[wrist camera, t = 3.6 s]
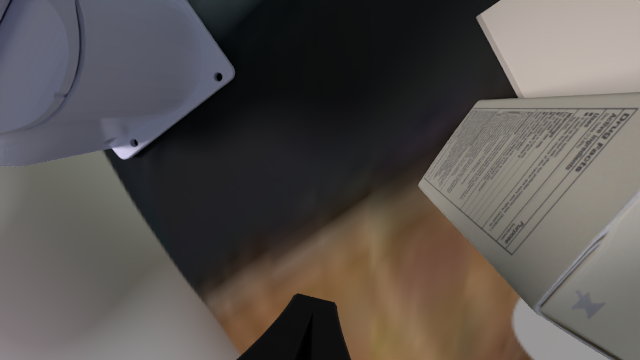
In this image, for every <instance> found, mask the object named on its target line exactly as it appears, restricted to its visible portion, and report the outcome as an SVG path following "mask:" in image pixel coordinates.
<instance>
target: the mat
mask: <svg viewBox="0 0 640 360" xmlns="http://www.w3.org/2000/svg"><path fill="white" fill-rule="evenodd" d="M476 18H477V20H478V22H479V24H480V26H481V28H482V30H483V32H484V34H485V35H486V37H487V39H488V41H489V43H490V45H491V47H492V49H493V51H494V53H495V54H496V56H497V58H498V60H499V62H500V64H501V66H502V68H503V70H504V72H505V73H506V75H507V77H508V79H509V81H510V83H511V85H512V87H513V89H514V90H515V92H516V94H517V96H518V98H536V97H553V96H573V95H593V94H612V93H631V92H640V0H500V1H499V2H497V3H496V4H494V5H493V6H491V7H490V8H489V9H487V10H486V11H484V12H483V13H481V14H480V15H478V16H477V17H476Z"/></svg>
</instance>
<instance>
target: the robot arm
mask: <svg viewBox="0 0 640 360" xmlns="http://www.w3.org/2000/svg"><path fill="white" fill-rule="evenodd" d="M218 73H221V74H222V76H223V77H222V80H221V81H220V82H219V81H218V80H217V78H216V77H217V74H218ZM234 76H235V70H234V67H233V66H232V64H231V63H230V62H229V60H228V59H227V57H226V56H225V54H224V53H223V51H222V50H221V48H220V47H219V46H218V44H217V43H216V41H215V40H214V38H213V37H212V35H211V34H210V33H209V31H208V30H207V28H206V27H205V25H204V24H203V22H202V21H201V20H200V18H199V17H198V15H197V14H196V12H195V11H194V9H193V8H192V7H191V5H190V4H189V2H188V1H187V0H0V166H27V165H32V164H37V163H42V162H47V161H51V160H56V159H61V158H66V157H70V156H76V155H80V154H85V153H90V152H94V151H100V150H105V149H109V148H112V149H113V150H114V151H115V152H116V154H117V155H118V156H119V157H120V158H122V159H129V158H131V157H133V156H134V155H135V154H137V153H138V152H139V151H141V150H142V149H143V148H144V147H146V146H147V145H148V144H150V143H151V142H152V141H153V140H155V139H156V138H157V137H159V136H160V135H161V134H163V133H164V132H165V131H166V130H168V129H169V128H170V127H172V126H173V125H174V124H175V123H177V122H178V121H179V120H181V119H182V118H183V117H184V116H186V115H187V114H188V113H190V112H191V111H192V110H194V109H195V108H196V107H197V106H199V105H200V104H201V103H203V102H204V101H205V100H206V99H208V98H209V97H210V96H212V95H213V94H214V93H215V92H217V91H218V90H219V89H221V88H222V87H223V86H225V85H226V84H227V83H228V82H230V81H231V80H232V79H233V78H234ZM135 139H136V140H137V142H138V146H136V145H135V143H134V140H135ZM237 360H351V358H350V355H349V352H348V349H347V346H346V343H345V340H344V337H343V333H342V330H341V326H340V322H339V317H338V312H337V306H336V304H335V303H334V302H331V301H327V300H322V299H318V298H314V297H310V296H306V295H302V294H298V293H297V294H296V295H294V296H293V298H292V299H291V301H290V302H289V304H288V305H287V307H286V308H285V309H284V311H283V312H282V313H281V314H280V316H279V317H278V318H277V319H276V320H275V322H274V323H273V324H272V325H271V326H270V327H269V328H268V329H267V331H266V332H265V333H264V334H263V335H262V336H261V337H260V338H259V339H258V340H257V341H256V342H255V343H254V344H253V345H252V346H251V347H250V348H249V349H248V350H247V351H246V352H244V353H243V354H242V355H241V356H240V357H239V358H238V359H237Z"/></svg>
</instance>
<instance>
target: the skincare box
mask: <svg viewBox="0 0 640 360" xmlns="http://www.w3.org/2000/svg"><path fill="white" fill-rule="evenodd" d="M418 186H419V188H420V189H421V190H422V191H423V192H424V193H425V194H426V195H427V196H428V197H429V199H430V200H431V201H432V202H433V203H434V204H435V205H436V206H437V207H438V208H439V209H440V210H441V212H442V213H443V214H444V215H445V216H446V217H447V218H448V219H449V220H450V221H451V222H452V223H453V225H454V226H455V227H456V228H457V229H458V230H459V231H460V232H461V233H462V234H463V235H464V236H465V237H466V238H467V240H468V241H469V242H470V243H471V244H472V245H473V246H474V247H475V248H476V249H477V250H478V251H479V252H480V253H481V255H482V256H483V257H484V258H485V259H486V260H487V261H488V262H489V263H490V264H491V265H492V266H493V267H494V269H495V270H496V271H497V272H498V273H499V274H500V275H501V276H502V277H503V278H504V279H505V280H506V281H507V283H508V284H509V285H510V286H511V287H512V288H513V289H514V290H515V291H516V293H517V294H518V295H519V296H520V297H521V298H522V299H523V300H524V301H525V302H526V303H527V304H528V306H529V307H530V308H531V309H533V310H534V312H536V313H537V314H538V315H540V316H542V317H543V318H545V319H546V320H548V321H550V322H551V323H553V324H554V325H556V326H557V327H559V328H560V329H562V330H563V331H565V332H567V333H568V334H570V335H571V336H573V337H574V338H576V339H578V340H579V341H581V342H582V343H584V344H585V345H587V346H589V347H590V348H592V349H594V350H595V351H597V352H598V353H600V354H602V355H603V356H605V357H607V358H608V359H610V360H640V92H631V93H612V94H593V95H573V96H553V97H536V98H516V99H497V100H480V101H478V102H477V103H476V104H475V105H474V107H473V108H472V109H471V111H470V112H469V113H468V115H467V116H466V117H465V119H464V120H463V121H462V123H461V124H460V125H459V127H458V128H457V129H456V131H455V132H454V133H453V135H452V136H451V138H450V139H449V140H448V142H447V143H446V145H445V146H444V147H443V149H442V150H441V152H440V153H439V154H438V156H437V157H436V159H435V160H434V162H433V163H432V165H431V166H430V168H429V169H428V171H427V172H426V174H425V175H424V177H423V178H422V180H421V181H420V182H419V184H418Z"/></svg>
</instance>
